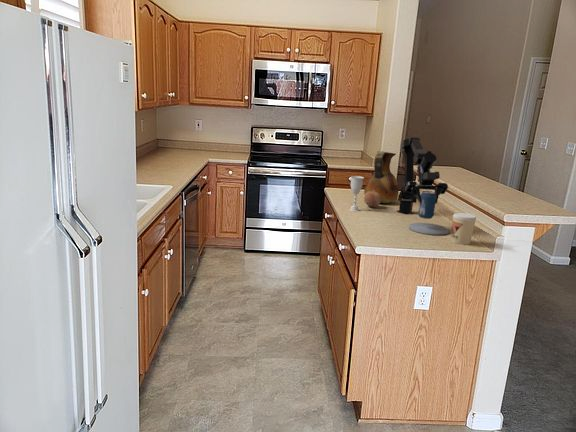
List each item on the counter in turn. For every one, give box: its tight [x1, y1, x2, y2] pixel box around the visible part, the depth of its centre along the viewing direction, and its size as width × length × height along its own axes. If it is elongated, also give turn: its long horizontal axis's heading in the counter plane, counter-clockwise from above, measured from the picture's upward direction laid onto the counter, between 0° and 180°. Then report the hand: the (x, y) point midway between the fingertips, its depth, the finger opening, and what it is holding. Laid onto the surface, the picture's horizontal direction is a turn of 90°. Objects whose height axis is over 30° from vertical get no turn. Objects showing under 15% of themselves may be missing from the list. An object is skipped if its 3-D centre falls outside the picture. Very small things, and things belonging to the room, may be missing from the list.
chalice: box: [349, 175, 365, 212], centre depth 248 cm, size 7×7×18 cm
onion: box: [363, 190, 382, 208], centre depth 257 cm, size 10×9×10 cm
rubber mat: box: [408, 222, 450, 236], centre depth 217 cm, size 18×18×1 cm
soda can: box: [417, 190, 436, 220], centre depth 214 cm, size 7×7×12 cm
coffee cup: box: [451, 212, 477, 246], centre depth 199 cm, size 9×9×12 cm
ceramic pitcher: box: [363, 151, 400, 204], centre depth 271 cm, size 20×20×30 cm
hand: (428, 202), depth 213 cm, fingers closed on soda can, 7 cm apart
